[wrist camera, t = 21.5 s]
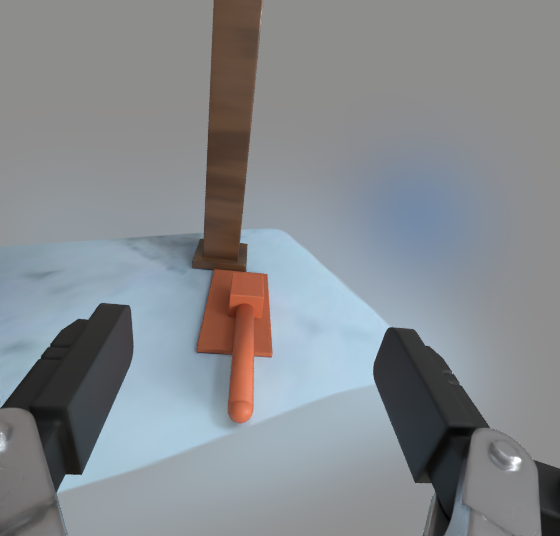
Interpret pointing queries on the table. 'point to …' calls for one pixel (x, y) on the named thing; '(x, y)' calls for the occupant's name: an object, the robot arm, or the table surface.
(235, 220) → the wooden square pillar
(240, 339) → the orange toy mallet
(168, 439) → the table surface
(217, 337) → the terracotta mat
